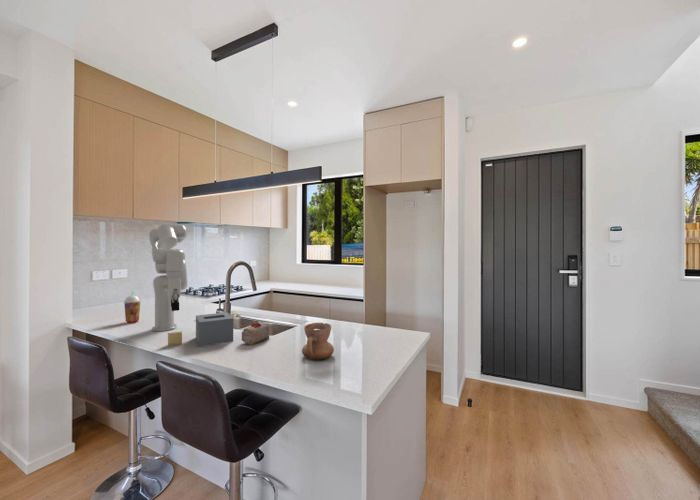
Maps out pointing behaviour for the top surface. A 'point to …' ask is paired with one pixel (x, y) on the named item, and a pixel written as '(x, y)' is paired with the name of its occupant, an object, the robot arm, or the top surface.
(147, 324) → the top surface
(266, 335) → the food item
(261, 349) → the top surface
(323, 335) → the ceramic jug
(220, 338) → the money box
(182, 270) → the robot arm
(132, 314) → the smoothie
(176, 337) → the yellow square slab
